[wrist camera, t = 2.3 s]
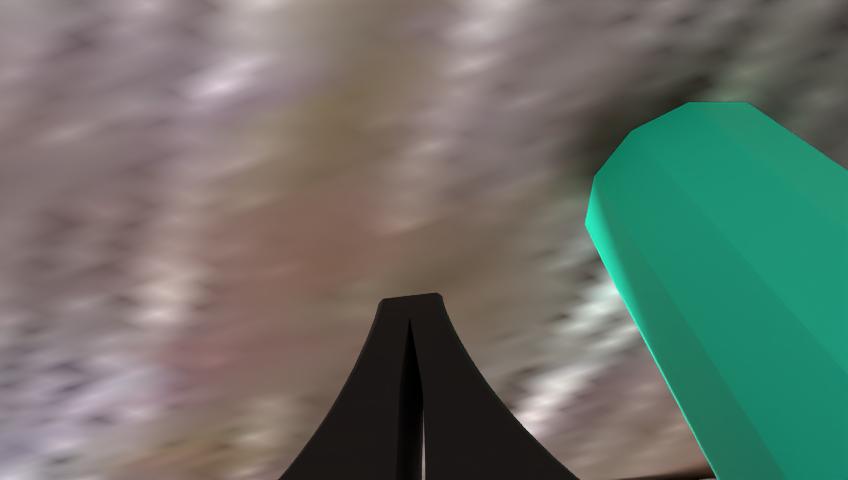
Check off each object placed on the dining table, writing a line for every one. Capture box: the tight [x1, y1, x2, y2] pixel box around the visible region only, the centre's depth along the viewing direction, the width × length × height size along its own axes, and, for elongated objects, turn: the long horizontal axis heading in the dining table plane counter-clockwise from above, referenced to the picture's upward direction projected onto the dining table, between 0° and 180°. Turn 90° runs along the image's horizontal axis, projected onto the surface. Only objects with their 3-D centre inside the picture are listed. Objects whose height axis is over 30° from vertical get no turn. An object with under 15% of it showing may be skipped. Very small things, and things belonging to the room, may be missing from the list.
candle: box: [585, 102, 848, 480], centre depth 12 cm, size 6×6×12 cm
